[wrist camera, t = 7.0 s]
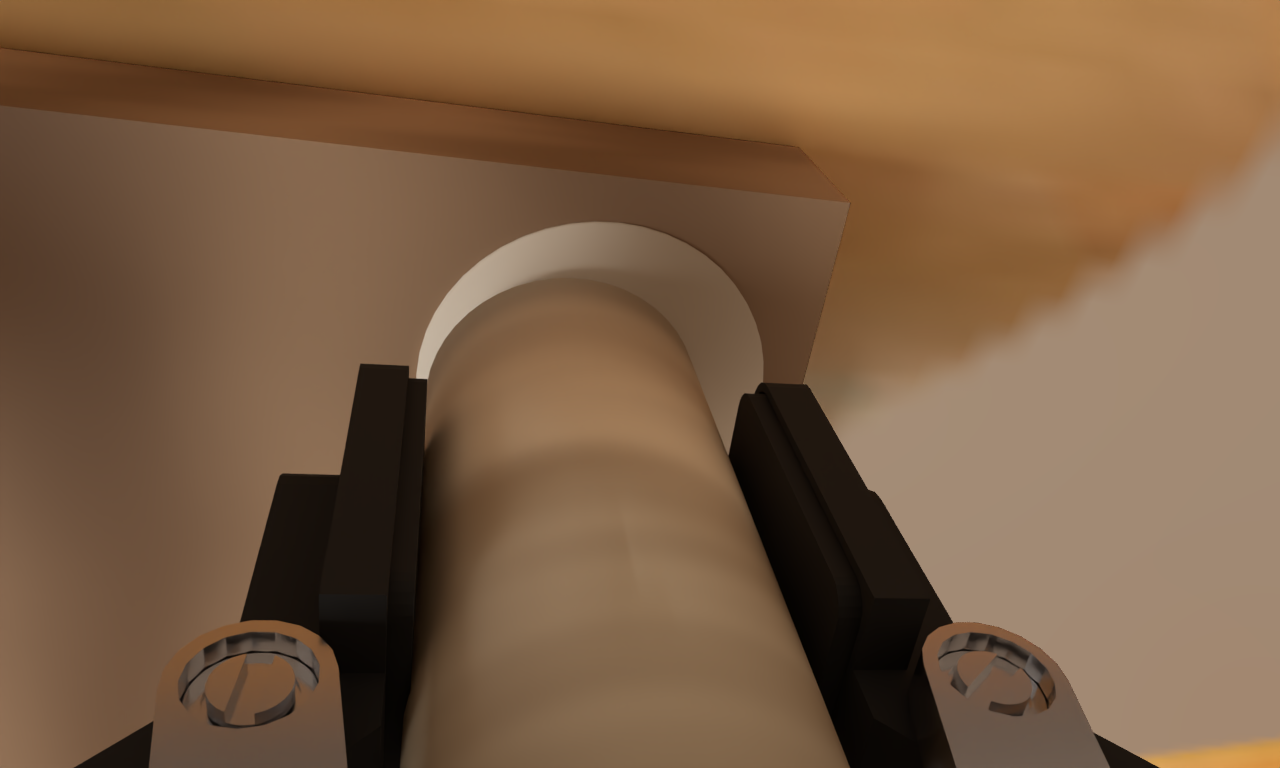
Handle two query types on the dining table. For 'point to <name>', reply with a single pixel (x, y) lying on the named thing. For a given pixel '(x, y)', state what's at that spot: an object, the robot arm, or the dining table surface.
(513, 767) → the hinged leg
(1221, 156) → the dining table surface
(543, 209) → the stool
